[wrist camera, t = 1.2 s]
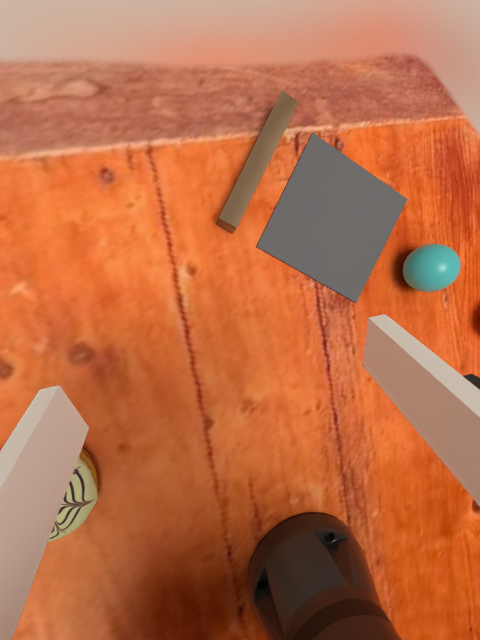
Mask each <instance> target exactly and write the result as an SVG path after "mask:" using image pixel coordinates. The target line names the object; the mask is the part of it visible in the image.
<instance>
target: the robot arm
mask: <svg viewBox="0 0 480 640" xmlns="http://www.w3.org/2000/svg"><path fill="white" fill-rule="evenodd" d="M362 366H363V367H364V368H365V369H366V371H367V372H368V373H369V374H370V375H371V377H372V378H373V379H374V380H375V381H376V383H377V384H378V385H379V386H380V387H381V389H382V390H383V391H384V392H385V393H386V395H387V396H388V397H389V398H390V399H391V401H392V402H393V403H394V404H395V405H396V407H397V408H398V409H399V410H400V411H401V413H402V414H403V415H404V416H405V417H406V419H407V420H408V421H409V422H410V423H411V425H412V426H413V427H414V428H415V429H416V431H417V432H418V433H419V434H420V435H421V437H422V438H423V439H424V440H425V441H426V443H427V444H428V445H429V446H430V447H431V449H432V450H433V451H434V452H435V453H436V455H437V456H438V457H439V458H440V459H441V461H442V462H443V463H444V464H445V465H446V467H447V468H448V469H449V470H450V471H451V473H452V474H453V475H454V476H455V477H456V479H457V480H458V481H459V482H460V483H461V485H462V486H463V487H464V488H465V489H466V491H467V492H468V493H469V494H470V495H471V497H472V498H473V499H474V500H475V501H476V502H477V504H478V505H479V506H480V378H479V377H477V376H475V375H473V374H469V375H465V376H462V375H461V374H459V373H458V372H457V371H456V370H454V369H453V368H452V367H451V366H449V365H448V364H447V363H446V362H444V361H443V360H442V359H441V358H439V357H438V356H437V355H436V354H434V353H433V352H432V351H431V350H429V349H428V348H427V347H426V346H424V345H423V344H422V343H421V342H419V341H418V340H417V339H416V338H414V337H413V336H412V335H411V334H409V333H408V332H407V331H406V330H404V329H403V328H402V327H401V326H399V325H398V324H397V323H396V322H394V321H393V320H392V319H391V318H389V317H388V316H387V315H386V314H384V315H379V316H375V317H370V318H368V325H367V333H366V341H365V348H364V356H363V364H362ZM88 430H89V427H88V425H87V424H86V422H85V421H84V420H83V418H82V417H81V415H80V414H79V412H78V411H77V410H76V408H75V407H74V405H73V404H72V402H71V401H70V400H69V398H68V397H67V395H66V394H65V393H64V391H63V390H62V388H61V387H60V385H58V386H53V387H49V388H44V389H40V390H39V392H38V393H37V395H36V396H35V398H34V399H33V401H32V402H31V404H30V406H29V407H28V409H27V410H26V412H25V413H24V415H23V417H22V418H21V420H20V421H19V423H18V424H17V426H16V428H15V429H14V431H13V432H12V434H11V435H10V437H9V438H8V440H7V442H6V443H5V445H4V446H3V448H2V449H1V451H0V640H12V638H13V635H14V633H15V630H16V627H17V624H18V622H19V619H20V616H21V614H22V611H23V608H24V605H25V603H26V600H27V597H28V594H29V592H30V589H31V586H32V583H33V581H34V578H35V575H36V573H37V570H38V567H39V564H40V562H41V559H42V556H43V553H44V551H45V548H46V545H47V542H48V540H49V537H50V534H51V532H52V529H53V526H54V523H55V521H56V518H57V515H58V512H59V510H60V507H61V504H62V501H63V499H64V496H65V493H66V491H67V488H68V485H69V482H70V480H71V477H72V474H73V471H74V469H75V466H76V463H77V460H78V458H79V455H80V452H81V449H82V447H83V444H84V441H85V439H86V436H87V433H88ZM248 586H249V591H250V596H251V601H252V606H253V609H254V612H255V615H256V617H257V619H258V621H259V623H260V625H261V627H262V629H263V631H264V633H265V634H266V636H267V638H268V640H402V639H401V638H400V636H399V635H398V633H397V631H396V630H395V628H394V627H393V625H392V623H391V622H390V620H389V619H388V617H387V615H386V614H385V612H384V610H383V609H382V606H381V604H380V601H379V598H378V595H377V592H376V589H375V585H374V582H373V579H372V576H371V573H370V570H369V567H368V564H367V561H366V558H365V555H364V553H363V551H362V549H361V547H360V545H359V543H358V542H357V540H356V539H355V537H354V536H353V534H352V533H351V531H350V530H349V529H348V527H347V526H346V525H345V524H344V523H343V522H341V521H340V520H338V519H337V518H335V517H332V516H330V515H326V514H321V513H309V514H303V515H299V516H296V517H293V518H291V519H288V520H286V521H285V522H283V523H281V524H280V525H278V526H277V527H275V528H274V529H273V530H272V531H271V532H270V533H269V534H268V535H267V536H266V537H265V538H264V539H263V540H262V542H261V543H260V544H259V546H258V547H257V549H256V551H255V553H254V555H253V557H252V560H251V563H250V566H249V572H248Z"/></svg>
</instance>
